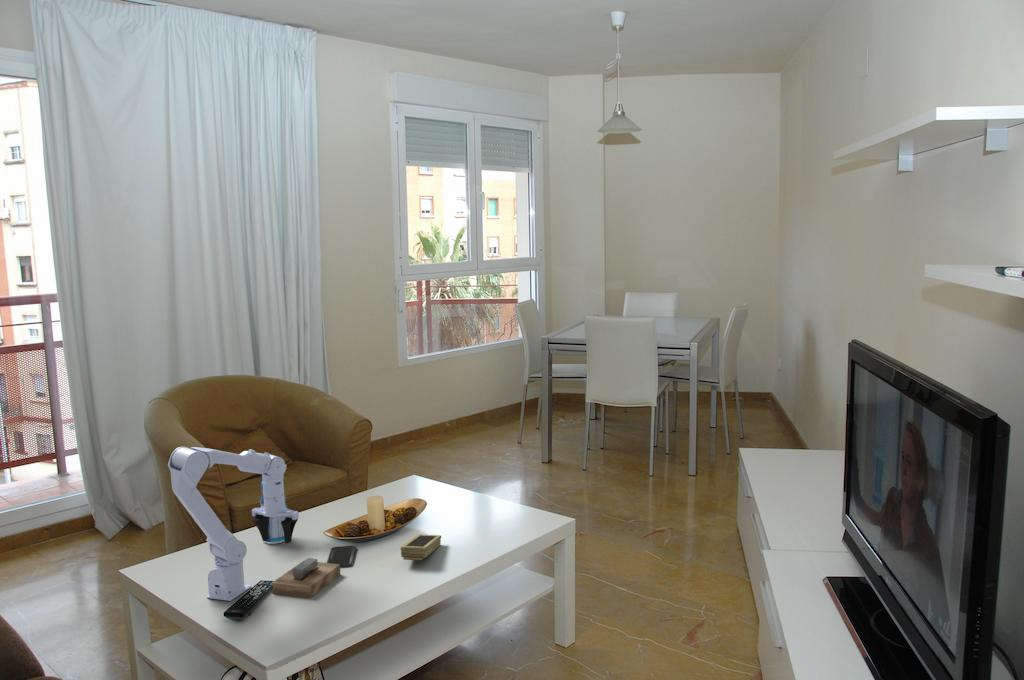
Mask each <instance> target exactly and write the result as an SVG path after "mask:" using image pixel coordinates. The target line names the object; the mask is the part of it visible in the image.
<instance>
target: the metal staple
mask: <svg viewBox="0 0 1024 680" xmlns="http://www.w3.org/2000/svg"><path fill="white" fill-rule="evenodd" d="M304 560H305V561H304ZM304 560H303V562H302V561H301V562H302V563H301V562H299V563H300V564H299V563H298V564H299V565H298V564H297V565H295V566H296V567H295V566H294V567H295V568H294V567H292V568H293V569H292V568H291V569H292V570H293V576H294V577H295V580H304V579H305V575H306V574H307V573H308V572H310V571H311V572H315V571H316V570H317V569H316V567H317V566H318V562H319V561H318V558H312V557H307V558H306V559H304Z"/></svg>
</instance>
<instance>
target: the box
mask: <svg viewBox="0 0 1024 680" xmlns="http://www.w3.org/2000/svg"><path fill="white" fill-rule="evenodd" d="M441 539H442V535H440V534H439V535H437V534H416V535H415V536H413V537H412V538H411V539H410V540H408V541H406V542H405V543H404V544H402V545H401V546H400V555H401V558H402V559H403V560H404V561H405V560H406V561H407V560H408V561H423V560H424V559H425V558H427V557H429V555H430V554H432V553H433V552H434V551H436V550H437V549H438V548H439V546H441Z"/></svg>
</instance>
